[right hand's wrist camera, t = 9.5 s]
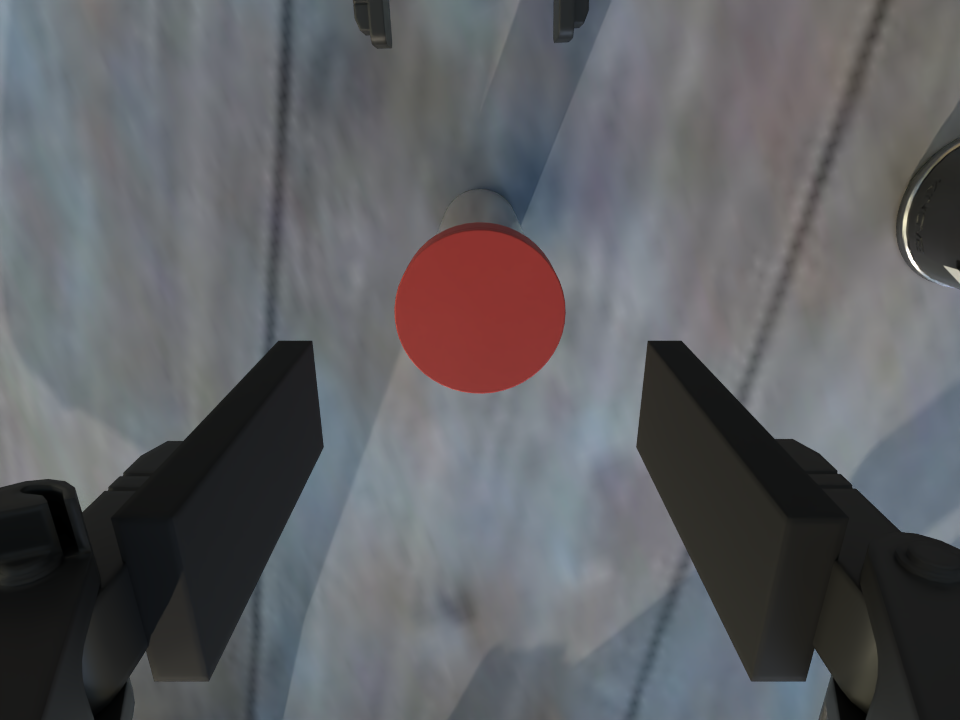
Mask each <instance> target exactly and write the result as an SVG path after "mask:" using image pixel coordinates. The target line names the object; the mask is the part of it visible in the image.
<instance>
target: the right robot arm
mask: <svg viewBox="0 0 960 720" xmlns="http://www.w3.org/2000/svg"><path fill="white" fill-rule="evenodd" d="M323 447H324V446H323V437H322V427H321V418H320V409H319V400H318V390H317V381H316V372H315V362H314V353H313V344H312V341H278V342H277V343H276V344H275V345H274V346H273V347H272V348H271V349H270V350H269V351H268V353H267V354H266V355H265V356H264V357H263V358H262V359H261V360H260V361H259V362H258V363H257V364H256V365H255V366H254V367H253V368H252V369H251V370H250V371H249V373H248V374H247V375H246V376H245V377H244V378H243V379H242V380H241V381H240V382H239V383H238V384H237V385H236V386H235V387H234V388H233V389H232V390H231V392H230V393H229V394H228V395H227V396H226V397H225V398H224V399H223V400H222V401H221V402H220V403H219V404H218V405H217V406H216V407H215V408H214V409H213V411H212V412H211V413H210V414H209V415H208V416H207V417H206V418H205V419H204V420H203V421H202V422H201V423H200V424H199V425H198V426H197V427H196V428H195V429H194V431H193V432H192V433H191V434H190V435H189V436H188V437H187V438H186V439H185V440H184V441H167V442H165V443H163V444H162V445H160V446H158V447H156V448H154V449H152V450H151V451H149V452H147V453H145V454H143V455H142V456H140V457H139V458H138V459H137V460H136V461H135V462H134V463H133V464H132V465H131V466H130V467H129V468H128V469H127V470H126V471H125V472H124V473H123V476H120V477H119V478H118V479H116V480H115V481H114V482H113V483H112V484H111V485H110V486H109V487H108V488H109V489H108V491H104V492H103V493H102V494H101V495H100V496H99V497H98V498H97V499H96V500H95V501H94V502H93V503H92V504H91V505H90V506H89V507H87V508H86V509H85V510H84V511H83V512H82V511H81V507H80V504H79V500H78V497H77V493H76V490H75V487H73V486H72V485H70V484H69V483H67V482H66V481H59V480H51V479H44V480H34V481H25V482H21V483H17V484H13V485H9V486H5V487H1V488H0V720H132V717H133V711H134V704H135V702H134V695H133V689H132V685H131V682H130V678H129V676H130V675H131V673H132V672H133V670H134V668H135V667H136V665H137V664H138V662H139V661H140V659H141V658H142V656H143V654H144V653H145V651H146V652H147V656H148V659H149V663H150V667H151V671H152V674H153V678H154V681H209V680H210V678H211V676H212V674H213V672H214V670H215V668H216V666H217V663H218V661H219V659H220V657H221V655H222V653H223V651H224V649H225V647H226V645H227V643H228V641H229V639H230V637H231V635H232V633H233V631H234V629H235V627H236V625H237V623H238V621H239V619H240V617H241V615H242V613H243V611H244V608H245V606H246V604H247V602H248V600H249V598H250V596H251V594H252V592H253V590H254V588H255V586H256V584H257V582H258V580H259V578H260V576H261V574H262V572H263V570H264V568H265V566H266V564H267V562H268V560H269V558H270V555H271V553H272V551H273V549H274V547H275V545H276V543H277V541H278V539H279V537H280V535H281V533H282V531H283V529H284V527H285V525H286V523H287V521H288V519H289V517H290V515H291V513H292V511H293V509H294V507H295V505H296V502H297V500H298V498H299V496H300V494H301V492H302V490H303V488H304V486H305V484H306V482H307V480H308V478H309V476H310V474H311V472H312V470H313V468H314V466H315V464H316V462H317V460H318V458H319V456H320V454H321V452H322V449H323ZM636 447H637V450H638V452H639V454H640V456H641V458H642V460H643V462H644V464H645V466H646V468H647V470H648V472H649V474H650V476H651V478H652V480H653V482H654V484H655V486H656V488H657V490H658V492H659V494H660V496H661V498H662V500H663V502H664V505H665V507H666V509H667V511H668V513H669V515H670V517H671V519H672V521H673V523H674V525H675V527H676V529H677V531H678V533H679V535H680V537H681V539H682V541H683V543H684V545H685V547H686V549H687V551H688V553H689V555H690V558H691V560H692V562H693V564H694V566H695V568H696V570H697V572H698V574H699V576H700V578H701V580H702V582H703V584H704V586H705V588H706V590H707V592H708V594H709V596H710V598H711V600H712V602H713V604H714V606H715V608H716V611H717V613H718V615H719V617H720V619H721V621H722V623H723V625H724V627H725V629H726V631H727V633H728V635H729V637H730V639H731V641H732V643H733V645H734V647H735V649H736V651H737V653H738V655H739V657H740V659H741V661H742V663H743V666H744V668H745V670H746V672H747V674H748V676H749V678H750V680H751V681H806V678H807V674H808V671H809V667H810V663H811V659H812V656H813V652H814V648H815V650H816V651H817V653H818V654H819V656H820V657H821V659H822V660H823V662H824V664H825V665H826V667H827V668H828V670H829V671H830V673H831V674H832V675H831V678H830V682H829V685H828V689H827V692H826V695H825V699H824V702H823V706H822V709H821V713H820V716H819V720H960V549H958V548H956V547H954V546H951V545H949V544H947V543H945V542H943V541H940V540H937V539H933V538H930V537H926V536H923V535H919V534H914V533H905V532H901V531H900V530H899V529H898V528H896V527H895V526H894V525H893V524H892V523H891V522H890V521H889V520H888V519H887V518H886V517H885V516H884V515H883V514H882V513H881V512H880V511H879V510H878V509H877V508H876V507H875V506H874V505H872V504H871V503H870V502H869V501H868V500H867V499H866V498H865V497H864V496H863V495H862V494H861V493H860V492H859V491H858V490H857V489H853V488H852V484H851V483H850V482H848V481H847V480H846V479H845V478H844V477H843V476H842V475H841V474H837V470H836V469H835V468H834V467H833V466H832V465H831V464H830V463H829V462H828V461H827V460H826V459H824V458H823V457H822V456H821V455H820V454H819V453H817V452H815V451H814V450H812V449H810V448H808V447H806V446H804V445H803V444H801V443H799V442H797V441H795V440H793V439H774V438H773V437H772V436H771V435H770V434H769V433H768V432H767V431H766V429H765V428H764V427H763V426H762V425H761V424H760V423H759V422H758V421H757V420H756V419H755V418H754V417H753V416H752V415H751V414H750V413H749V412H748V411H747V409H746V408H745V407H744V406H743V405H742V404H741V403H740V402H739V401H738V400H737V399H736V398H735V397H734V396H733V395H732V394H731V393H730V392H729V390H728V389H727V388H726V387H725V386H724V385H723V384H722V383H721V382H720V381H719V380H718V379H717V378H716V377H715V376H714V375H713V374H712V373H711V371H710V370H709V369H708V368H707V367H706V366H705V365H704V364H703V363H702V362H701V361H700V360H699V359H698V358H697V357H696V356H695V355H694V354H693V353H692V351H691V350H690V349H689V348H688V347H687V346H686V345H685V344H684V343H683V342H682V341H648V344H647V353H646V362H645V372H644V381H643V390H642V400H641V409H640V418H639V427H638V437H637V446H636Z"/></svg>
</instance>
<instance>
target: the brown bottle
mask: <svg viewBox="0 0 960 720" xmlns="http://www.w3.org/2000/svg"><path fill="white" fill-rule="evenodd" d="M475 222H485V223H494V224H499V225H503V226H506V227H509V228H511V229H513V230H516V231H518V232H520V233H521V234H523V231H522V229H521V226H520V224H519V222H518V219H517V217H516V214H515V212H514V210H513V208H512V206H511V205H510V203H509V202H508V201H507V200H506V199H505V198H504V197H502V196H501V195H499V194H498V193H496V192H493V191H490V190H486V189H474V190H470V191H467V192H464V193H462V194H461V195H459V196H458V197H456V198H455V199H454V200H453V201H452V202H451V204H450V205H449V206H448V208H447V210H446V212H445V214H444V217H443V219H442V222H441V224H440V227H439V229H438V231H437V234H439V233H441V232H442V231H444V230H446V229H449V228H451V227H454V226H457V225H461V224H466V223H475ZM437 234H436V235H437ZM523 235H524V234H523Z"/></svg>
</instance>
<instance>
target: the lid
mask: <svg viewBox="0 0 960 720" xmlns="http://www.w3.org/2000/svg"><path fill="white" fill-rule="evenodd" d="M395 323H396V329H397V332H398V336H399V339H400V341H401V343H402V346H403V348H404V350H405V351H406V353H407V355H408V356H409V358H410V359H411V360H412V361H413V363H414V364H415V365H416V366H417V367H418V368H419V369H420V370H421V371H422V372H423V373H424V374H426V375H427V376H428V377H430V378H431V379H432V380H434V381H436V382H438V383H439V384H441V385H443V386H446V387H448V388H451V389H454V390H458V391H461V392H468V393H493V392H498V391H503V390H506V389H509V388H512V387H514V386H516V385H519V384H521V383H523V382H524V381H526V380H527V379H529V378H531V377H532V376H533V375H534V374H536V373H537V372H538V371H539V370H540V369H541V368H542V367H543V366H544V365H545V364H546V363H547V362H548V360H549V359H550V358H551V356H552V355H553V353H554V351H555V350H556V348H557V346H558V344H559V341H560V339H561V336H562V333H563V328H564V324H565V300H564V294H563V290H562V287H561V284H560V281H559V279H558V277H557V275H556V273H555V271H554V269H553V267H552V265H551V263H550V261H549V260H548V259H547V257H546V256H545V254H544V253H543V252H542V250H541V249H540V248H539V247H538V246H537V245H536V244H535V243H534V242H533V241H531V240H530V239H529V238H528V237H526V236H524V235H523V234H521V233H520V232H518V231H516V230H513V229H511V228H509V227H506V226H503V225H499V224H494V223H485V222H475V223H466V224H461V225H457V226H454V227H451V228H449V229H446V230H444V231H442V232H441V233H439V234H437V235H435V236H434V237H433V238H431V239H430V240H429V241H427V242H426V243H425V244H424V245H423V246H422V247H421V248H420V249H419V250H418V252H417V253H416V254H415V256H414V257H413V258H412V260H411V262H410V264H409V265H408V267H407V269H406V271H405V273H404V275H403V277H402V279H401V282H400V284H399V287H398V290H397V294H396V300H395Z"/></svg>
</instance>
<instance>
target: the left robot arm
mask: <svg viewBox="0 0 960 720" xmlns="http://www.w3.org/2000/svg"><path fill="white" fill-rule="evenodd" d="M353 3H354V15H355V20H356V22H357V24H358V27H359V29H360V31H361V32H363V33H364V34H365V35H370V36H371V41H372V45H373V46H374V47H376V48H377V49H383V48H392V34H391V21H390V8H389V0H353ZM588 11H589V0H554V21H553V38H554V43H562V42H569V41H570V40H571V39H572V38H573V33H574V28H580V26H581V25H582V24H583V23H584V21H585V19H586V16H587V13H588ZM896 235H897V242H898V246H899V250H900V252H901V255H902V257H903V258H904V260H905V262H906V263H907V264H908V266H909V267H910V268H911V269H912V270H913V271H914V272H915V273H916V274H918V275H919V276H921V277H922V278H924V279H926V280H928V281H931V282H934V283H937V284H940V285H943V286H947V287H952V288H957V289H960V138H959V139H957V140H955V141H953V142H951V143H950V144H948V145H946V146H945V147H944V148H942V149H941V150H939V151H938V152H937V153H936V154H934V155H933V156H932V157H931V158H930V159H929V160H928V161H927V162H926V163H925V164H924V165H923V166H922V167H921V169H920V170H919V171H918V172H917V174H916V175H915V176H914V178H913V180H912V181H911V183H910V184H909V186H908V188H907V190H906V192H905V194H904V196H903V199H902V201H901V204H900V208H899V211H898V216H897V225H896Z"/></svg>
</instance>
